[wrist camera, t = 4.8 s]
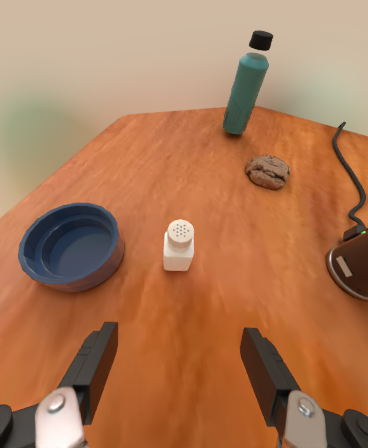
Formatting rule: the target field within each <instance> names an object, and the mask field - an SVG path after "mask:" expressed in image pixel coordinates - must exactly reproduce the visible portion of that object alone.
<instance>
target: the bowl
mask: <svg viewBox="0 0 368 448" xmlns="http://www.w3.org/2000/svg"><path fill="white" fill-rule="evenodd" d="M123 252H124V240H123V236H122V233H121V231H120V229H119V226H118V224H117V221H116V220H115V218H114V217H113V215H112V214H111V213H110V212H109V211H107V210H106V209H104V208H103V207H101V206H98V205H95V204H91V203H72V204H67V205H63V206H60V207H58V208H55V209H53V210H50V211H48V212H47V213H45V214H44V215H42V216H41V217H40V218H38V219H37V220H36V221H35V222H34V223H33V224H32V225H31V226H30V227H29V228H28V230H27V231H26V232H25V234H24V236H23V238H22V240H21V242H20V245H19V254H18V259H19V261H20V264H21V267H22V270H23V271H24V272H25V273H26V274H27V275H29V276H30V277H31V278H32V279H33V280H35V281H38V282H40V283H42V284H44V285H47V286H49V287H51V288H54V289H57V290H60V291H63V292H79V291H83V290H86V289H90V288H93V287H95V286H97V285H98V284H100V283H101V282H103V281H105V280H106V279H107V278H108V277H109V276H110V275H111V274H112V273H113V272H114V271H115V270H116V269H117V267H118V265H119V263H120V261H121V259H122V257H123Z"/></svg>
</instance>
